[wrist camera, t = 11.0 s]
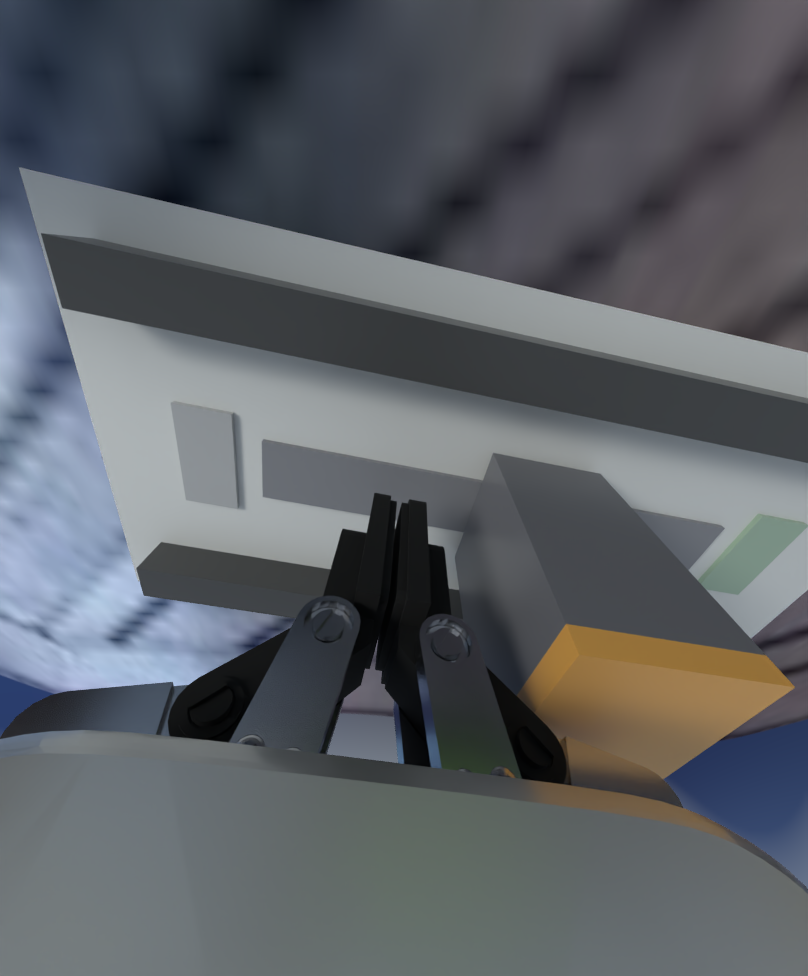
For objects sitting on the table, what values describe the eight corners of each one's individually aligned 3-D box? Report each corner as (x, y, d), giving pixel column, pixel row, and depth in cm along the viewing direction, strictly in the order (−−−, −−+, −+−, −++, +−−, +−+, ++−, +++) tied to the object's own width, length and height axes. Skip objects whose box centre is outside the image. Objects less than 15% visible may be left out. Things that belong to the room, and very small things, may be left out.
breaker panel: (107, 190, 11) (-55, 147, 7) (910, 379, 14) (1108, 421, 10) (174, 540, 19) (113, 608, 15) (679, 622, 22) (738, 700, 18)
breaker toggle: (493, 452, 12) (579, 654, 6) (600, 473, 13) (795, 687, 6) (454, 557, 15) (484, 776, 8) (544, 572, 15) (639, 795, 9)
